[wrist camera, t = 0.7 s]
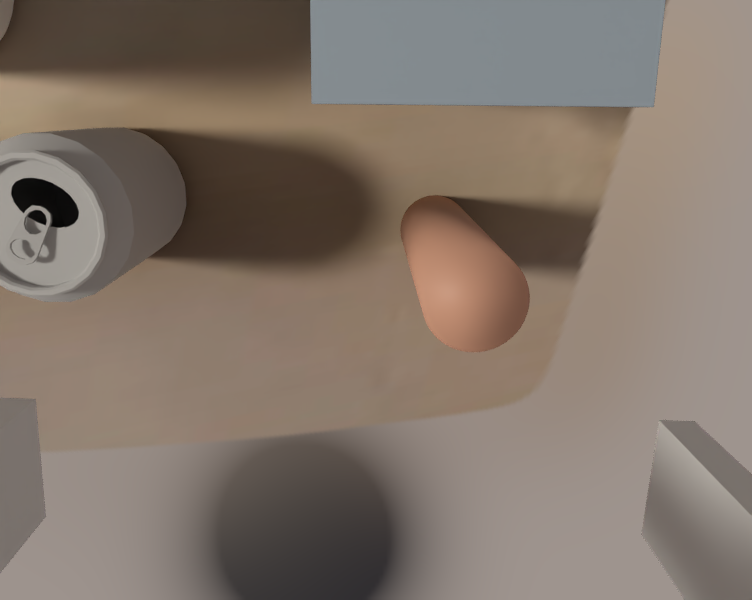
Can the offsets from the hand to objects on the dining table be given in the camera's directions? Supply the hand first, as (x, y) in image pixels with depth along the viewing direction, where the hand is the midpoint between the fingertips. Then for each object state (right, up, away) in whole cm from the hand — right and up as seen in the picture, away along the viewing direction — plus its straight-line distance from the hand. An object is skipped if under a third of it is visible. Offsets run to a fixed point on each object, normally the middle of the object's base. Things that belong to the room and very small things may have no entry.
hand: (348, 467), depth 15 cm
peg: (+4, +8, +27) cm, 28 cm away
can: (-14, +10, +26) cm, 31 cm away
